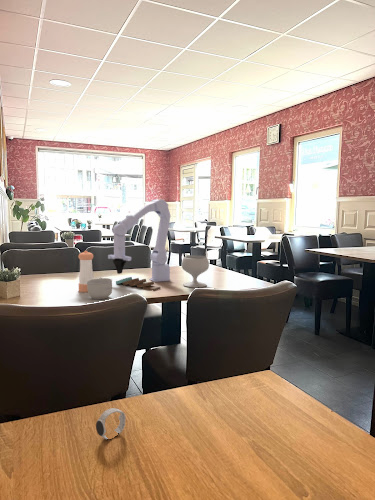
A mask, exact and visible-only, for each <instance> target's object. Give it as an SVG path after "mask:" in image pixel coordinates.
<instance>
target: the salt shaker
mask: <svg viewBox="0 0 375 500" xmlns="http://www.w3.org/2000/svg"><path fill="white" fill-rule="evenodd" d="M77 257H78V259H79V276H78V280H79V283H78V292H80V293H88V288H87V281H89V280H92V279H94V273H93V272H94V271H93V262H92V261H93V259H94V257H95V256H94V254H93V253H92V252H90V251H89V252H88V250H84V251H83V252H80V253H79V254H78V256H77Z"/></svg>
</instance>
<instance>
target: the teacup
mask: <svg viewBox="0 0 375 500" xmlns="http://www.w3.org/2000/svg"><path fill="white" fill-rule="evenodd" d="M87 288H88V292H87V293H88V296H89V297H90V298H92V299H93V300H105V299H108V298H109V297H110V296H111V295H112V292H113V279H112V278H106V277H98V278H93V279H92V280H89V281H87Z"/></svg>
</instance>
